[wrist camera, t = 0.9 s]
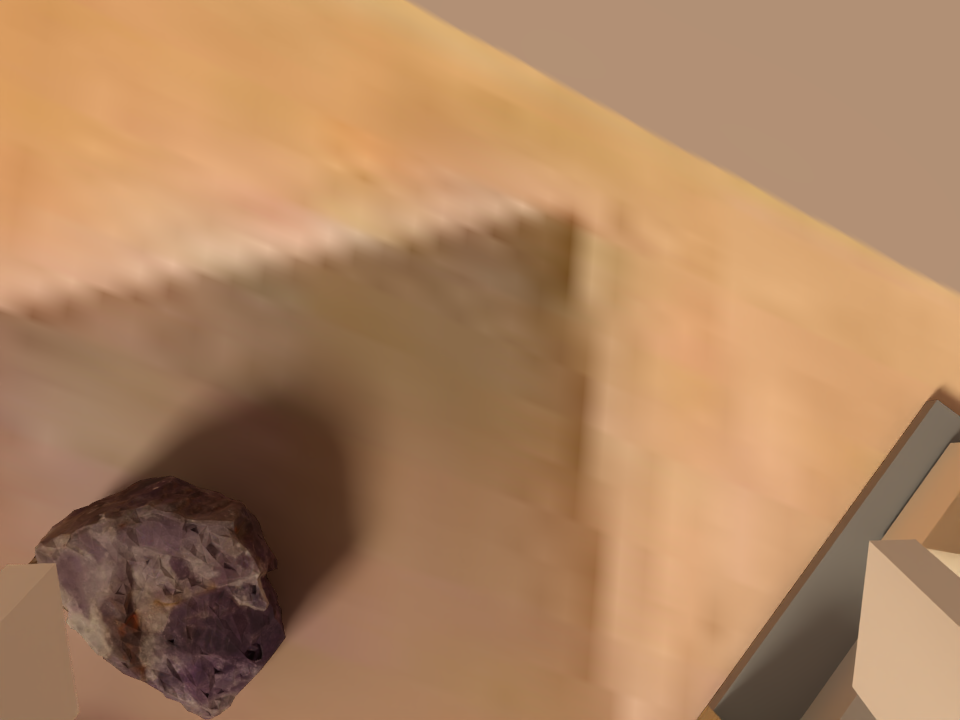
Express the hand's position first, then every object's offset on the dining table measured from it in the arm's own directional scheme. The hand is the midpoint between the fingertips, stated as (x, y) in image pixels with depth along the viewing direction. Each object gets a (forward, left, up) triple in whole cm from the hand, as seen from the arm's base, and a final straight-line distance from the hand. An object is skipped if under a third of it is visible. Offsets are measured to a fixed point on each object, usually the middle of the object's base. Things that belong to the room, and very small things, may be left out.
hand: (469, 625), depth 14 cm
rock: (+10, +11, -29) cm, 33 cm away
